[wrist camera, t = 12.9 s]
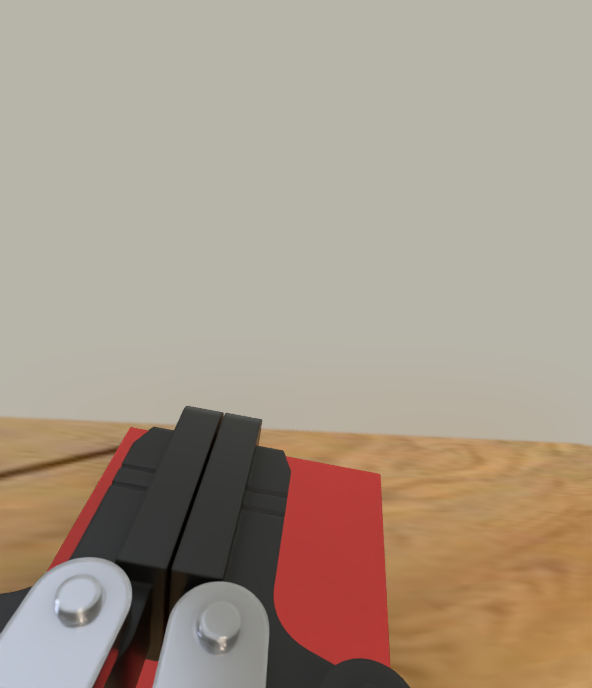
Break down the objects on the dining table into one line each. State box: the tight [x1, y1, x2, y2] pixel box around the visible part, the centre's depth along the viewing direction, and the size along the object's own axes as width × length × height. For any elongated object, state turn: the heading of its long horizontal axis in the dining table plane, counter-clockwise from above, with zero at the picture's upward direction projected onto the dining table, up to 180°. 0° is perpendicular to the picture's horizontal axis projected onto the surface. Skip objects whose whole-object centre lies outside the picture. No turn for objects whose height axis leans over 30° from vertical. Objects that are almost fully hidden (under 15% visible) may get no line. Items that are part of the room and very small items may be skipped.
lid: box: [47, 427, 390, 688], centre depth 20 cm, size 16×13×1 cm
